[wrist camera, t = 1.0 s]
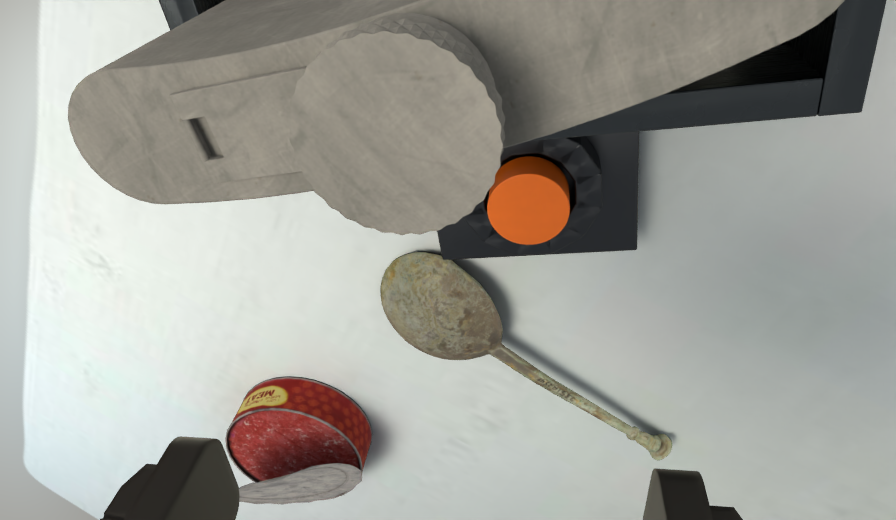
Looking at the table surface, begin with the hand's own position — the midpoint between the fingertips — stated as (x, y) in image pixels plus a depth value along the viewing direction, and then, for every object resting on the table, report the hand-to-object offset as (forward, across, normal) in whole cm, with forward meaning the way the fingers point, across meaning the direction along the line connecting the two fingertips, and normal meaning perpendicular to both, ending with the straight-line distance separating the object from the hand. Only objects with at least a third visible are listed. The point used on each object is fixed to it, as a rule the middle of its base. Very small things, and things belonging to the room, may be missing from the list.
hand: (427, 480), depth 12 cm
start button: (+19, -2, +4) cm, 19 cm away
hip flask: (+22, 0, -6) cm, 23 cm away
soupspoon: (+22, -2, +17) cm, 29 cm away
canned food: (+23, +14, +25) cm, 37 cm away
